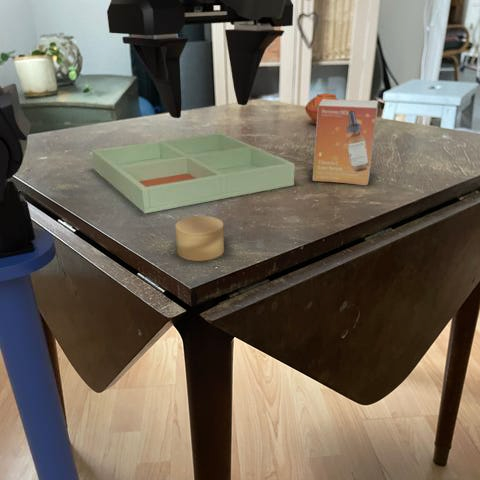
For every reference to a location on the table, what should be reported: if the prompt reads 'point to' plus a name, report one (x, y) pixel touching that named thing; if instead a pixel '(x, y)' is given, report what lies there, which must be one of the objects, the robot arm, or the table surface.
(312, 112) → the pot
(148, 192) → the grid
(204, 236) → the cylinder
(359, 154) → the small box
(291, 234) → the table surface
